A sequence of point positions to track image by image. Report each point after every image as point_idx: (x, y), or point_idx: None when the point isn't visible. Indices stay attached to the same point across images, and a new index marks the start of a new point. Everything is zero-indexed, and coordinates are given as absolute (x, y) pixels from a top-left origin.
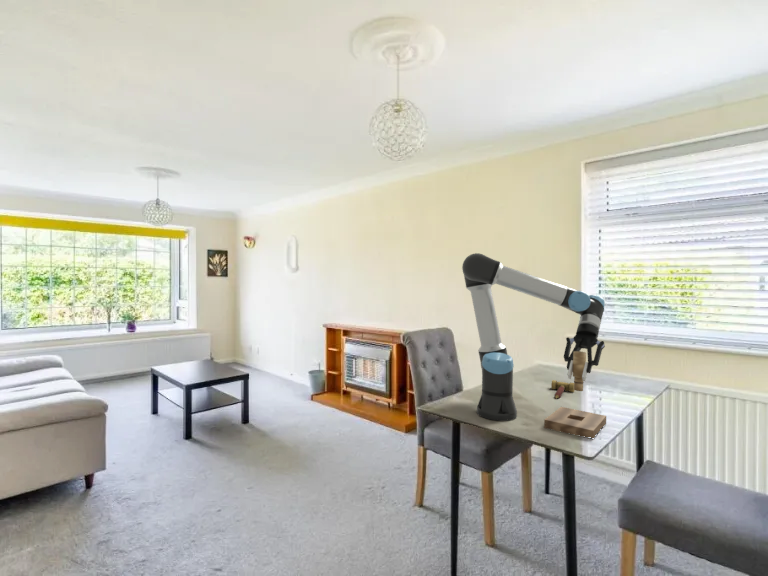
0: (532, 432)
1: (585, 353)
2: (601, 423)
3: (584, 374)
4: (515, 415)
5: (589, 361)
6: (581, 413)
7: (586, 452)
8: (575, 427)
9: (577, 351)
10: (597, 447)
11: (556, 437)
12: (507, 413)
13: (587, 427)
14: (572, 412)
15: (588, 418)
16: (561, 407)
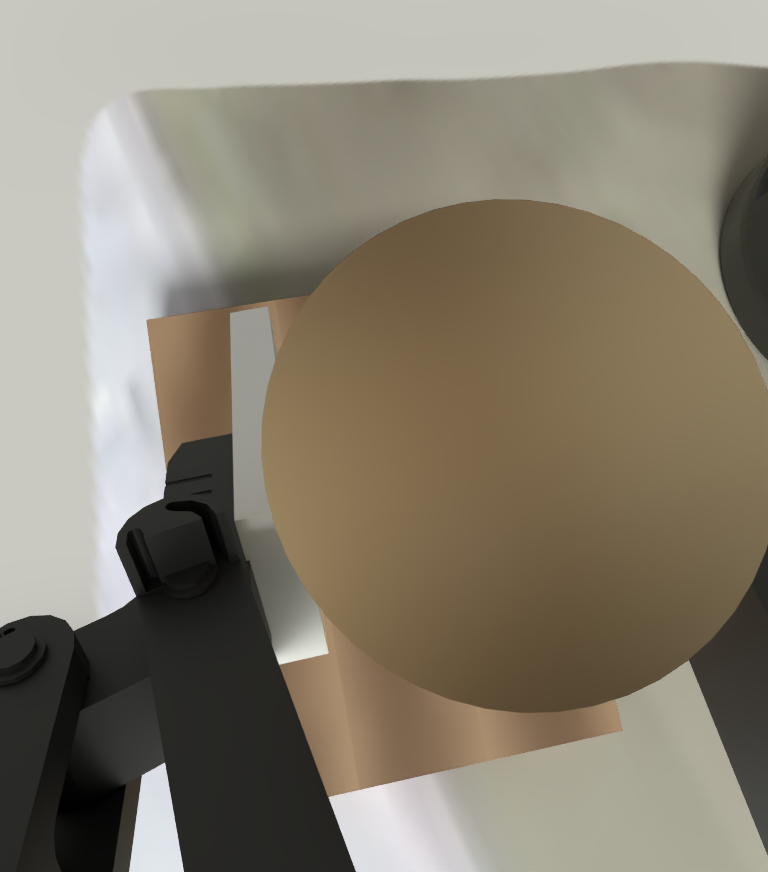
0: (492, 154)
1: (263, 427)
2: None
3: (236, 334)
4: (739, 284)
5: (169, 504)
6: (398, 681)
7: (112, 109)
8: (277, 302)
9: (685, 548)
10: (92, 233)
11: (347, 192)
12: (761, 190)
13: (205, 352)
14: None
15: None
16: (606, 705)
